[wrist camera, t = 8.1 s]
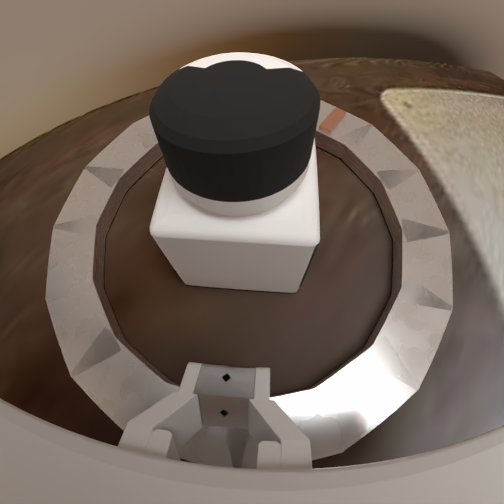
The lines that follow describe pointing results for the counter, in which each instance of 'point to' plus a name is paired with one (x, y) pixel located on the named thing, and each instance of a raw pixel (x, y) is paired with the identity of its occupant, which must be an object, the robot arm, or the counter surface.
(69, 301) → the turntable ring
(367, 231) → the counter surface
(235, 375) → the robot arm
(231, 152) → the medicine bottle
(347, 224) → the counter surface
